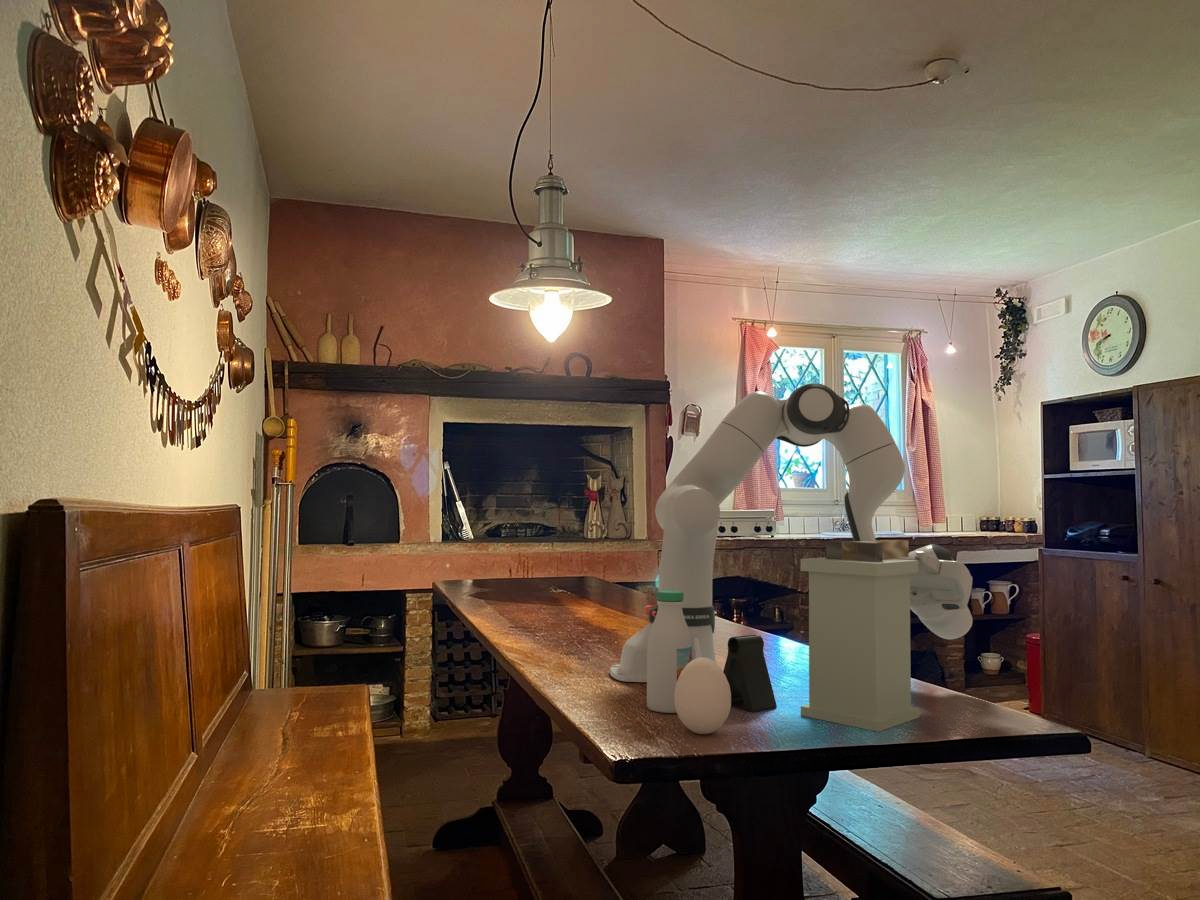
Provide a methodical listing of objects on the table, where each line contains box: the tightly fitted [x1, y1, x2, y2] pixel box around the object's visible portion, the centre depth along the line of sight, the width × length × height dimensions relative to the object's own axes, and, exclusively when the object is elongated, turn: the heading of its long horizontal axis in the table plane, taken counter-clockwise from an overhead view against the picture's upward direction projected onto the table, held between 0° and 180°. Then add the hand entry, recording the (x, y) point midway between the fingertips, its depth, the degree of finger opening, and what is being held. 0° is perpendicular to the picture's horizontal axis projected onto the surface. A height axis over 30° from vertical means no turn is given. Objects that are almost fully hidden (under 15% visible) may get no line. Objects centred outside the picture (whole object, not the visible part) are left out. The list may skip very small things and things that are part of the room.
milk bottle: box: [646, 590, 692, 714], centre depth 148 cm, size 8×8×20 cm
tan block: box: [825, 539, 909, 562], centre depth 150 cm, size 18×9×3 cm, turn 135°
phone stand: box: [722, 634, 778, 713], centre depth 151 cm, size 9×6×12 cm, turn 36°
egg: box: [674, 657, 732, 735], centre depth 132 cm, size 9×9×12 cm
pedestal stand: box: [800, 556, 921, 733], centre depth 145 cm, size 14×14×26 cm
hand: (894, 553), depth 155 cm, fingers open, 8 cm apart
